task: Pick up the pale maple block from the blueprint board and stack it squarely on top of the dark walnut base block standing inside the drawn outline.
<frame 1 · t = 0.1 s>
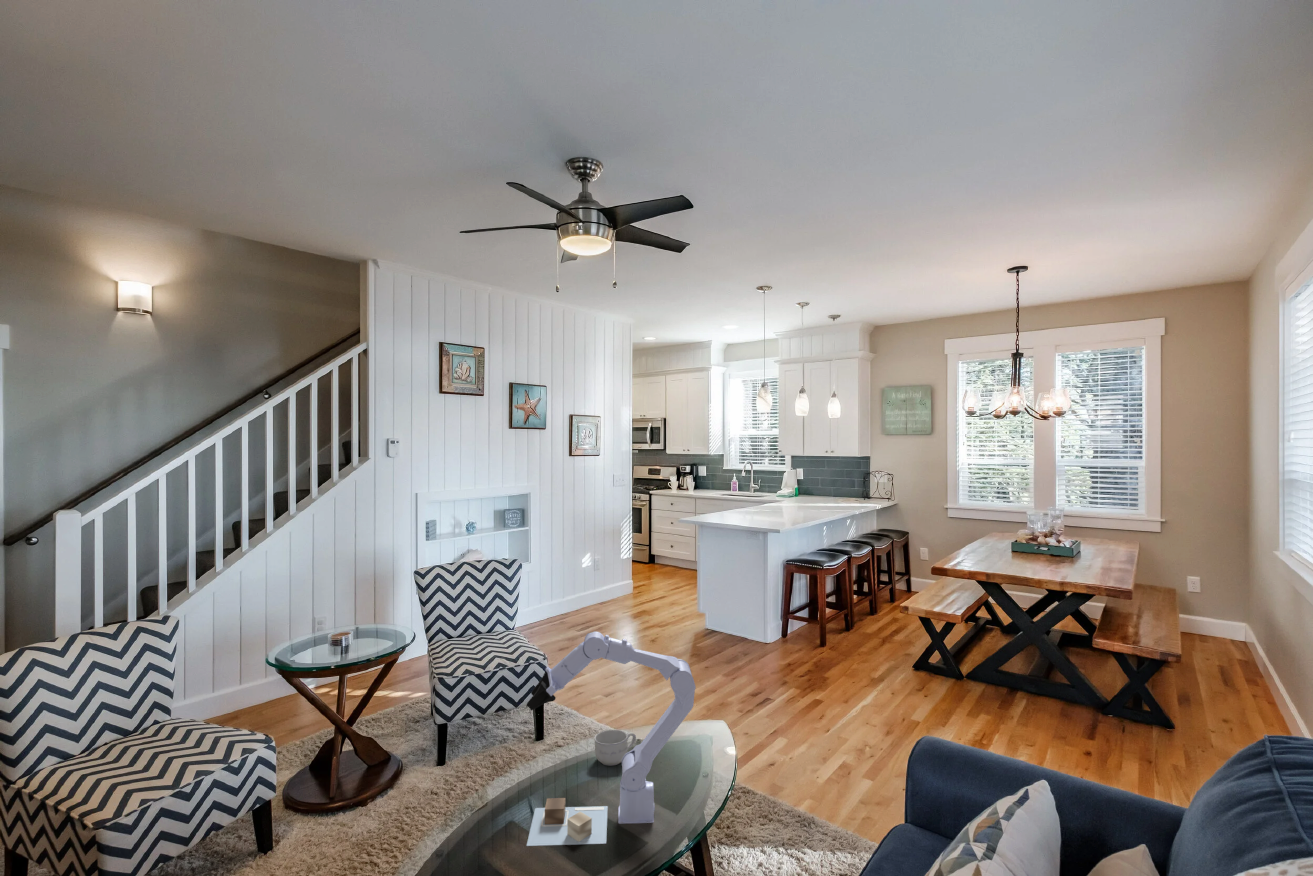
hand: (531, 701, 168), 32 cm above the table, tool tilted 50°, fingers open, 7 cm apart
maple block: (579, 834, 160), point 1 cm above the table, touching blueprint board
walnut base: (555, 818, 167), point 1 cm above the table, touching blueprint board
teacup: (615, 760, 199), on the table
blueprint board: (569, 827, 164), on the table
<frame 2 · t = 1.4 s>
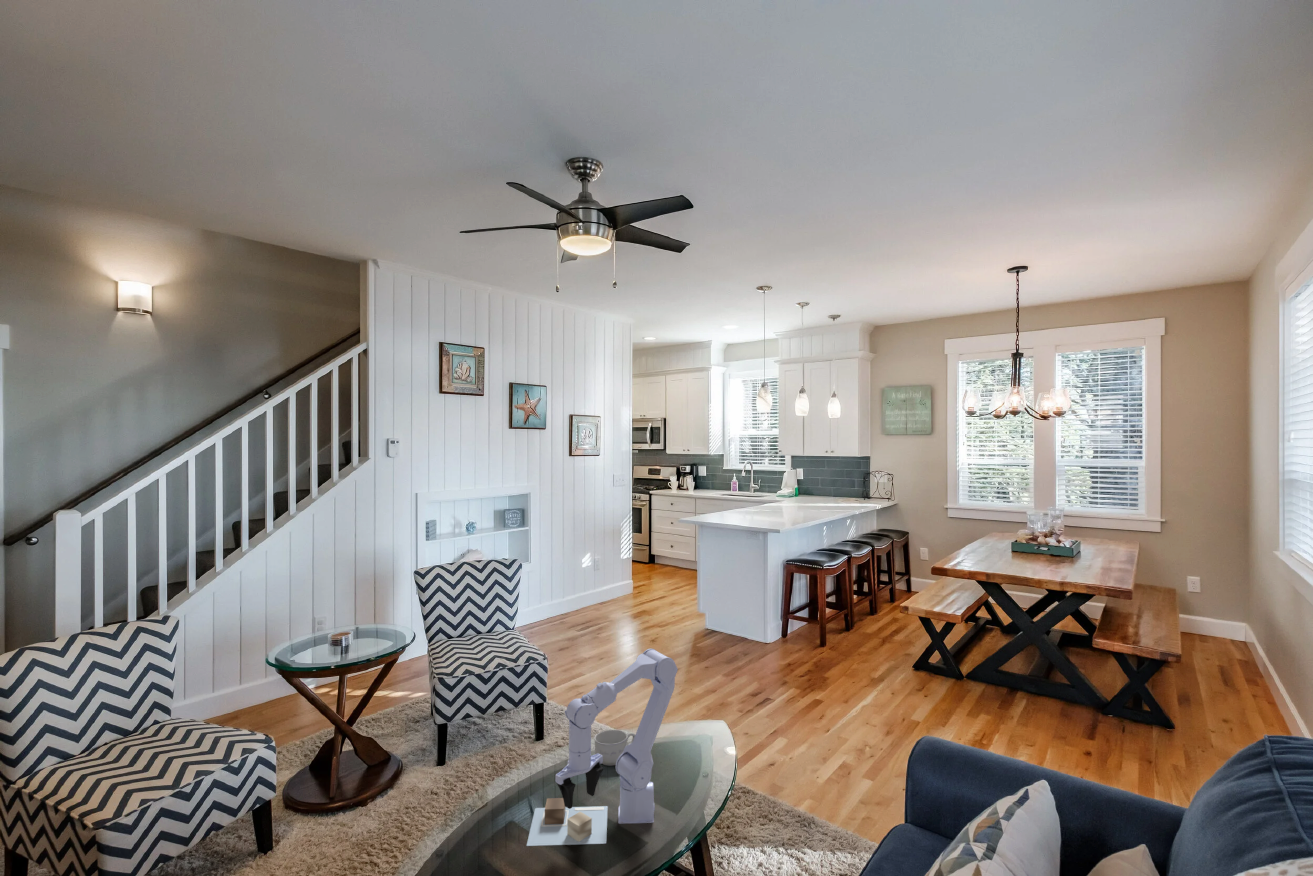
hand: (579, 800, 160), 9 cm above the table, tool pointing down, fingers open, 7 cm apart
nothing on the table moved.
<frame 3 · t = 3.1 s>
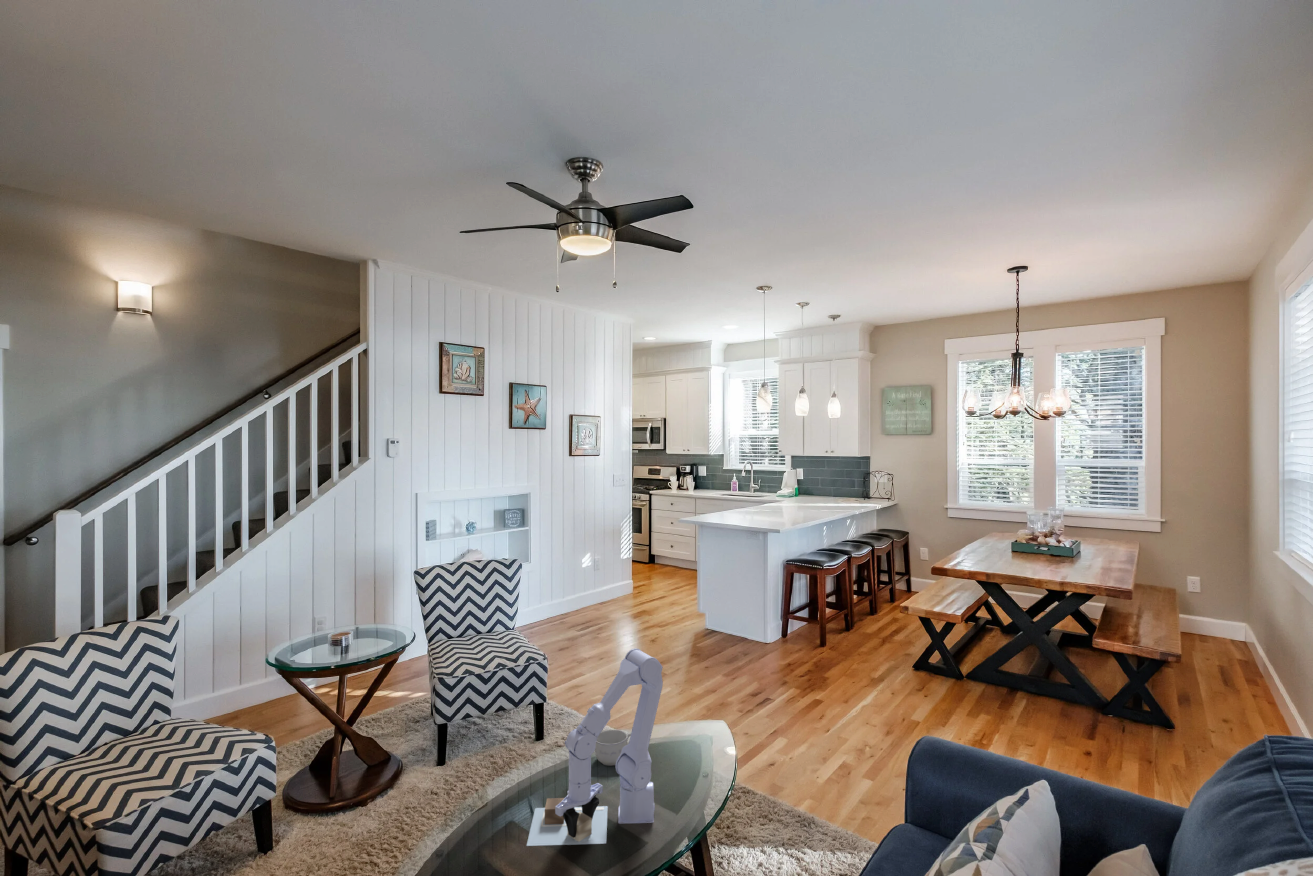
hand: (579, 831, 160), 1 cm above the table, tool pointing down, fingers closed on maple block, 4 cm apart
maple block: (579, 834, 160), point 1 cm above the table, touching blueprint board, gripper
everything else where it was.
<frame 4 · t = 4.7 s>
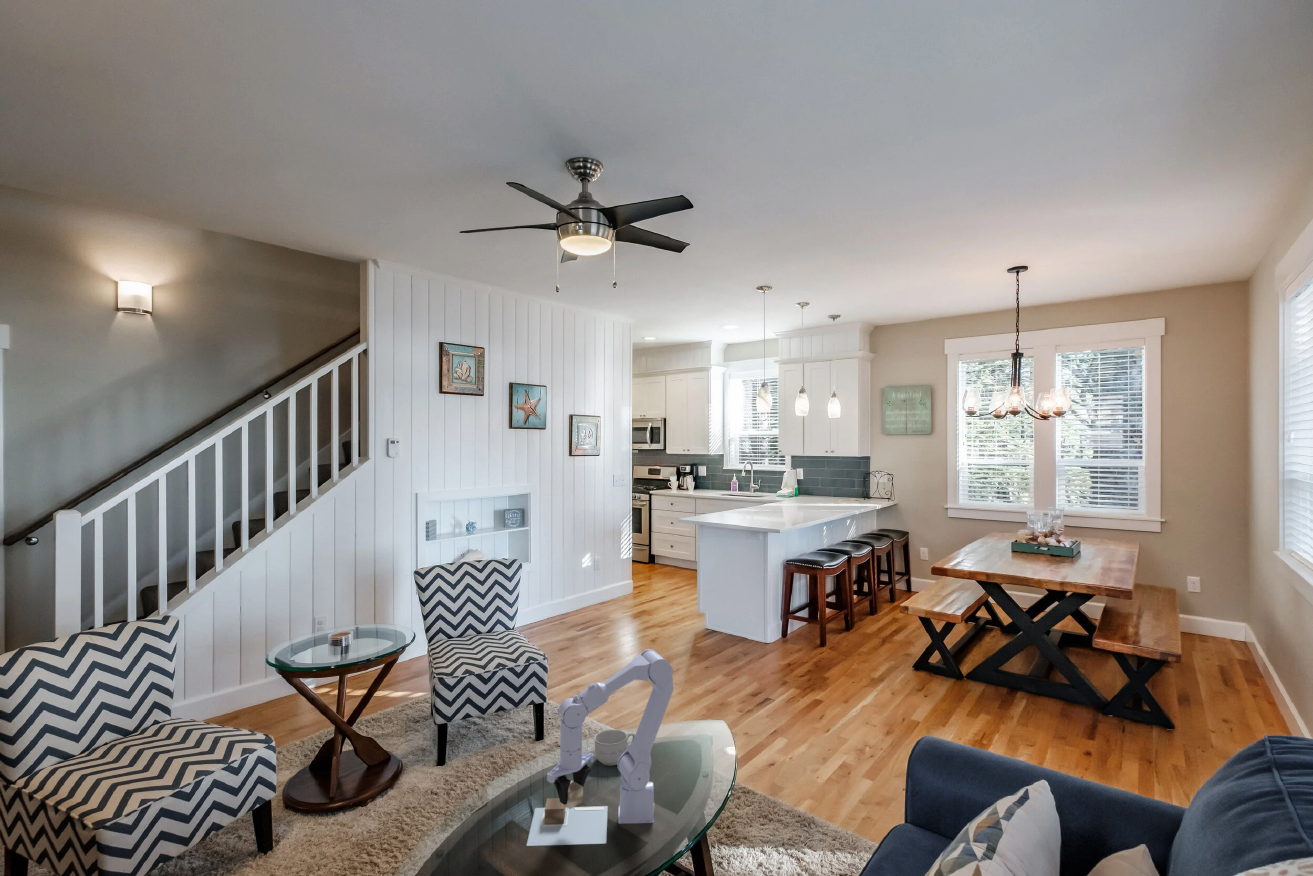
hand: (570, 798, 163), 8 cm above the table, tool pointing down, fingers closed on maple block, 4 cm apart
maple block: (570, 802, 163), point 8 cm above the table, touching gripper
everything else where it was.
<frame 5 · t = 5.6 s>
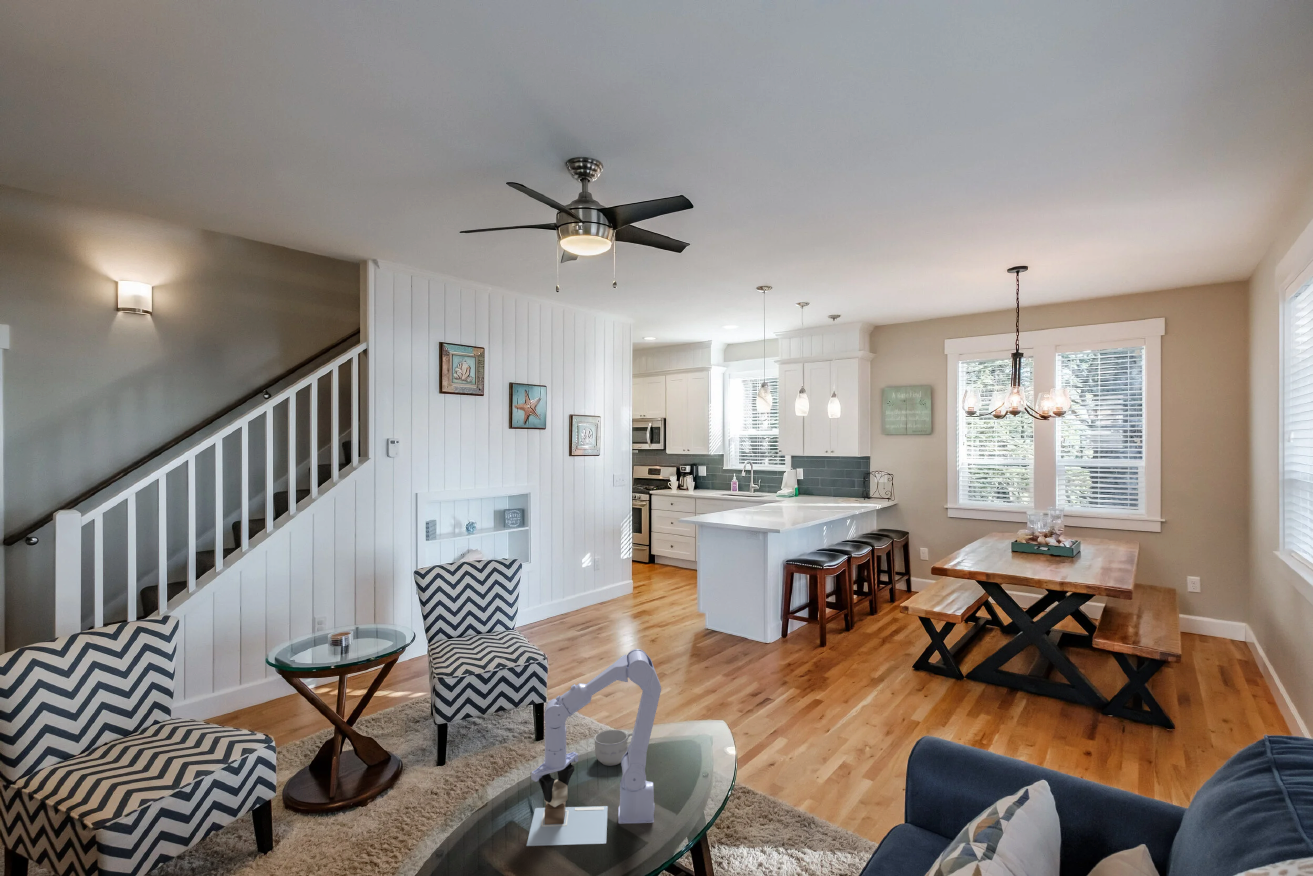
hand: (555, 797, 167), 6 cm above the table, tool pointing down, fingers closed on maple block, 4 cm apart
maple block: (555, 800, 167), point 6 cm above the table, touching gripper
everything else where it was.
when the fingers open (6 cm above the table, at t = 6.4 s): maple block stays where it is, resting on walnut base.
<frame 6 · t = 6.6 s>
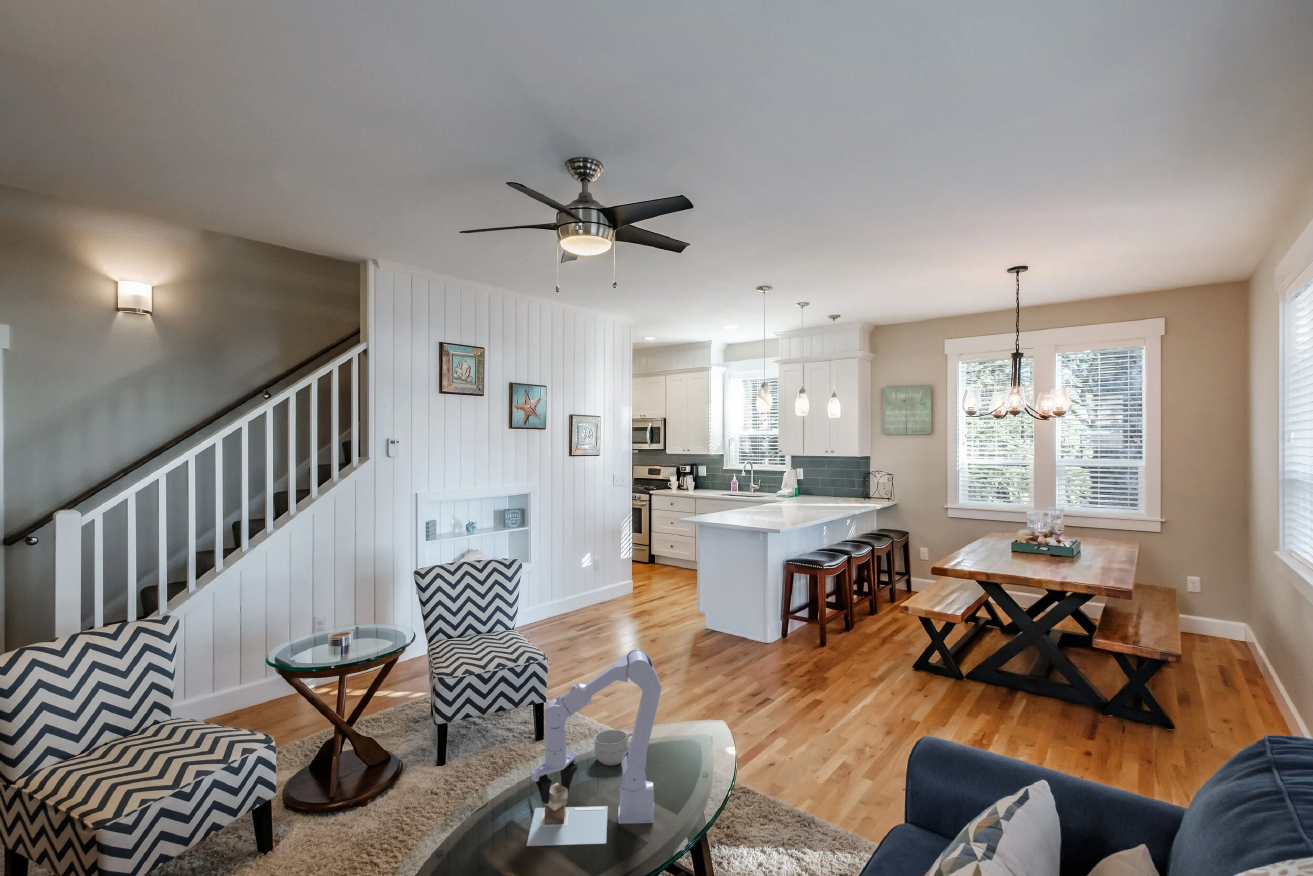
hand: (555, 797, 167), 6 cm above the table, tool pointing down, fingers open, 6 cm apart
maple block: (555, 804, 167), point 5 cm above the table, touching walnut base
walnut base: (555, 818, 167), point 1 cm above the table, touching blueprint board, maple block
everything else where it was.
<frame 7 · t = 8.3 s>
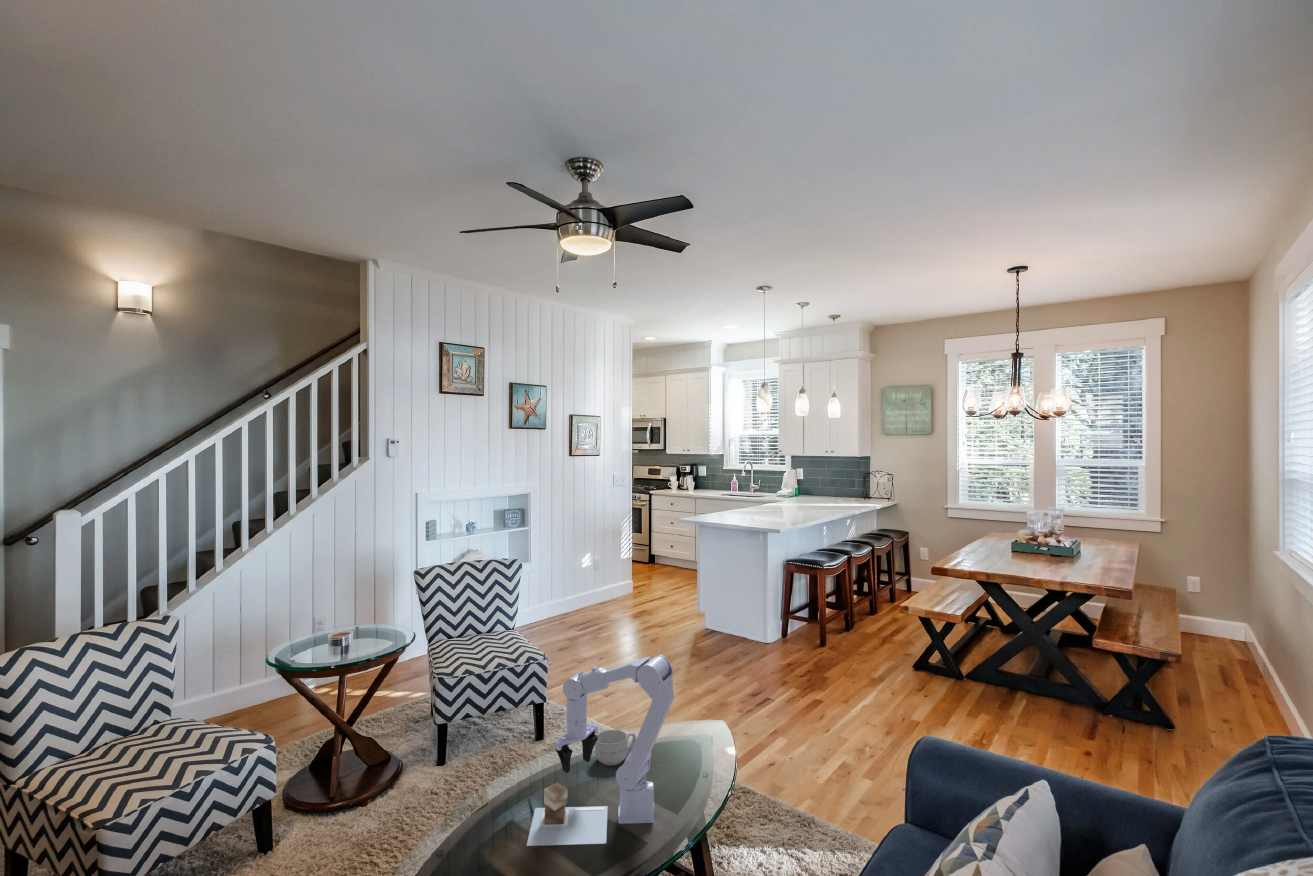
hand: (576, 766, 176), 10 cm above the table, tool pointing down, fingers open, 7 cm apart
nothing on the table moved.
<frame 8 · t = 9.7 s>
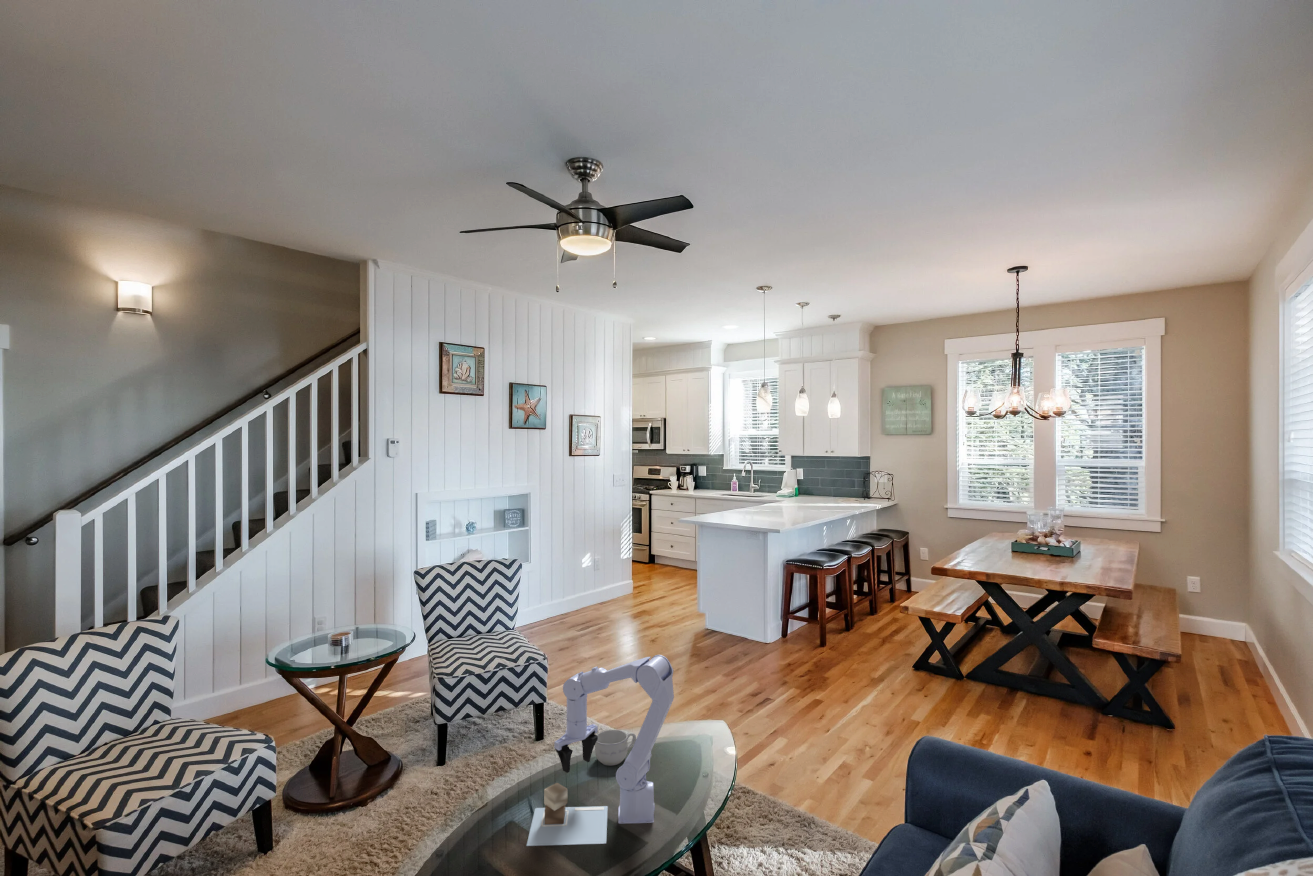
hand: (576, 766, 176), 10 cm above the table, tool pointing down, fingers open, 7 cm apart
nothing on the table moved.
at the end: maple block 0.2 cm off-centre on the walnut base, point 4.0 cm above the walnut base's base; maple block tilted 0°; the gripper is holding nothing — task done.
